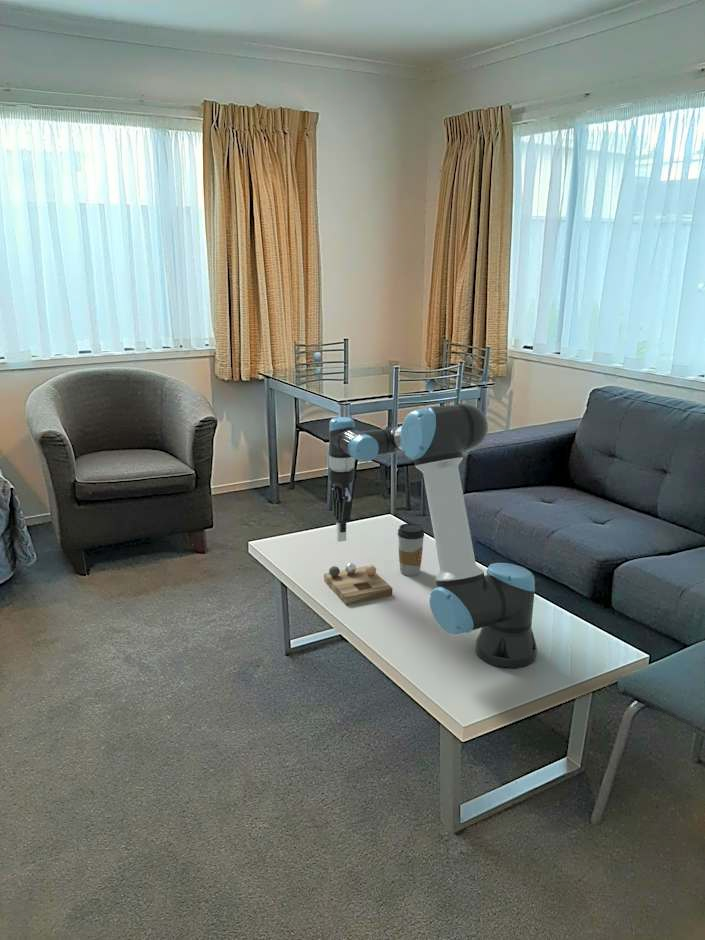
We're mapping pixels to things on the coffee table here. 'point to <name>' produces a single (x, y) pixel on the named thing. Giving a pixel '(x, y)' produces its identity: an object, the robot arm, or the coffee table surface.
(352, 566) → the steel ball
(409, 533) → the coffee cup
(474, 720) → the coffee table surface
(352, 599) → the wooden flat board
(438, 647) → the coffee table surface
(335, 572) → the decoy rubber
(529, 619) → the robot arm
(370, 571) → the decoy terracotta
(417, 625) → the coffee table surface
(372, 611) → the coffee table surface
